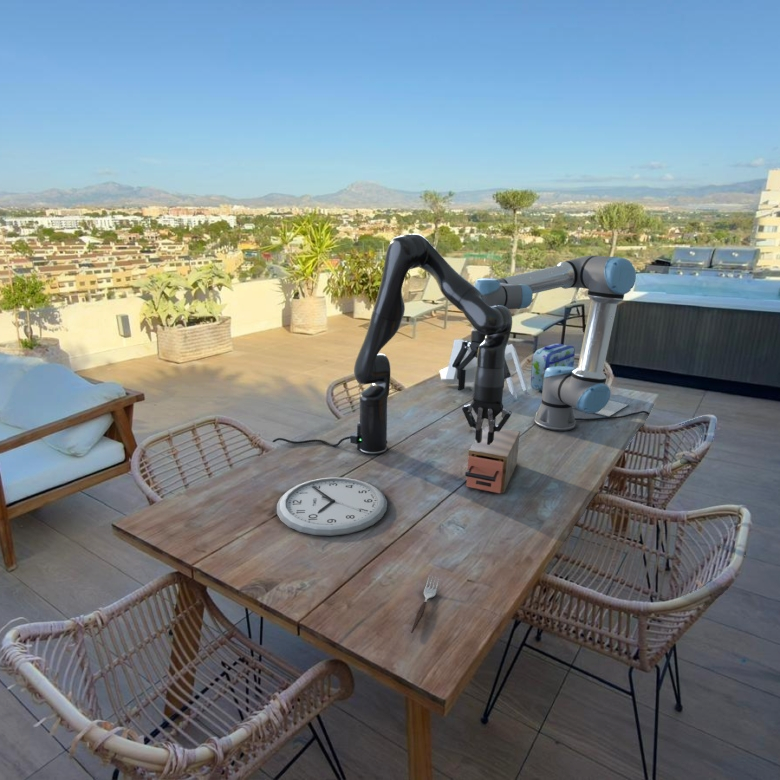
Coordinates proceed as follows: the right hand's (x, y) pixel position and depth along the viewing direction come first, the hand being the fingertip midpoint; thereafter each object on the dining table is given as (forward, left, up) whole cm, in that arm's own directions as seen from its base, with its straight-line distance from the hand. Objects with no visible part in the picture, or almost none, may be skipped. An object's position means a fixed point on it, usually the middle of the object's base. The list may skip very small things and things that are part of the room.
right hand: (478, 393), depth 170 cm
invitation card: (-56, -59, -22) cm, 84 cm away
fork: (+13, +77, -22) cm, 81 cm away
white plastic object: (-5, -71, -22) cm, 74 cm away
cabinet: (-5, +14, -22) cm, 26 cm away
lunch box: (-39, -84, -22) cm, 95 cm away
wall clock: (+40, +40, -22) cm, 60 cm away
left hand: (-1, +30, -5) cm, 30 cm away
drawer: (-3, +20, -21) cm, 29 cm away
